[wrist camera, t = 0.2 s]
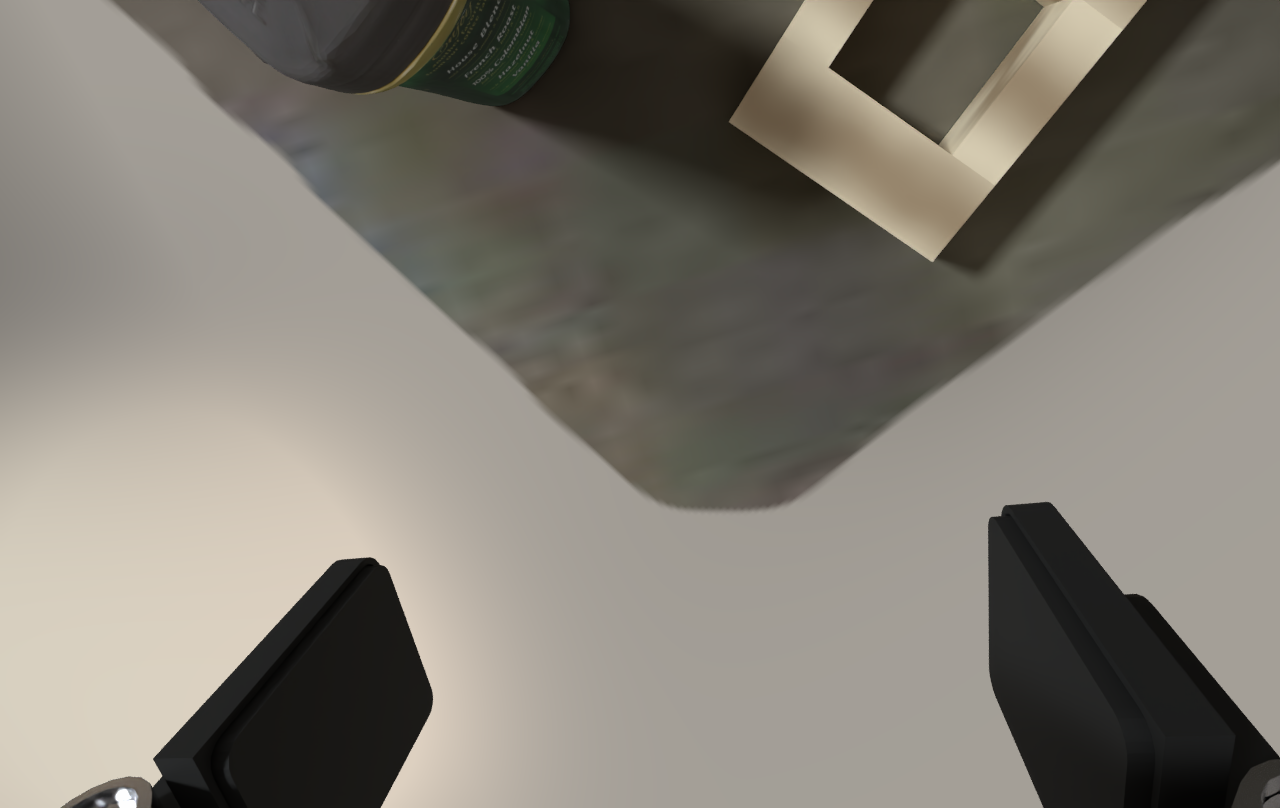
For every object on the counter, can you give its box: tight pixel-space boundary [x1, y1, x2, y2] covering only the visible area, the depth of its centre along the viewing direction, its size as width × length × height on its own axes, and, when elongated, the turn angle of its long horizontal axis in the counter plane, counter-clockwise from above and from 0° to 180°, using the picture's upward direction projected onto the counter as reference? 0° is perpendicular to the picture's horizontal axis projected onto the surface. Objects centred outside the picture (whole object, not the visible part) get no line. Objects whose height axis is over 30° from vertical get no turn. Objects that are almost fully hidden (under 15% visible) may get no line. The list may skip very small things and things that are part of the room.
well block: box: [729, 0, 1147, 262], centre depth 32 cm, size 16×12×4 cm
